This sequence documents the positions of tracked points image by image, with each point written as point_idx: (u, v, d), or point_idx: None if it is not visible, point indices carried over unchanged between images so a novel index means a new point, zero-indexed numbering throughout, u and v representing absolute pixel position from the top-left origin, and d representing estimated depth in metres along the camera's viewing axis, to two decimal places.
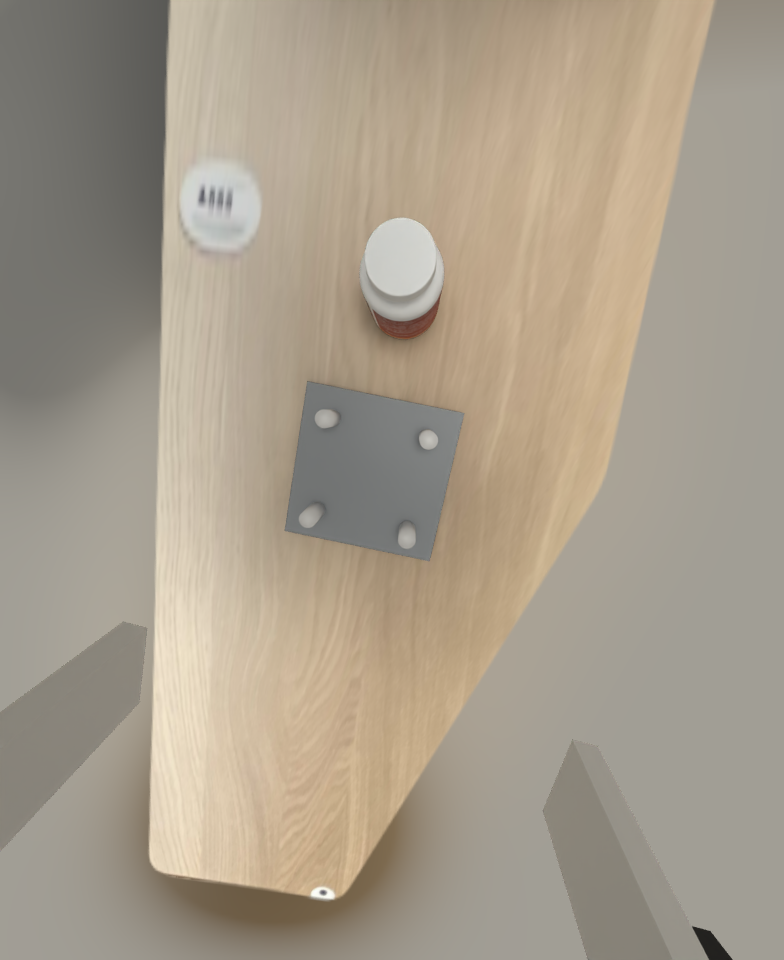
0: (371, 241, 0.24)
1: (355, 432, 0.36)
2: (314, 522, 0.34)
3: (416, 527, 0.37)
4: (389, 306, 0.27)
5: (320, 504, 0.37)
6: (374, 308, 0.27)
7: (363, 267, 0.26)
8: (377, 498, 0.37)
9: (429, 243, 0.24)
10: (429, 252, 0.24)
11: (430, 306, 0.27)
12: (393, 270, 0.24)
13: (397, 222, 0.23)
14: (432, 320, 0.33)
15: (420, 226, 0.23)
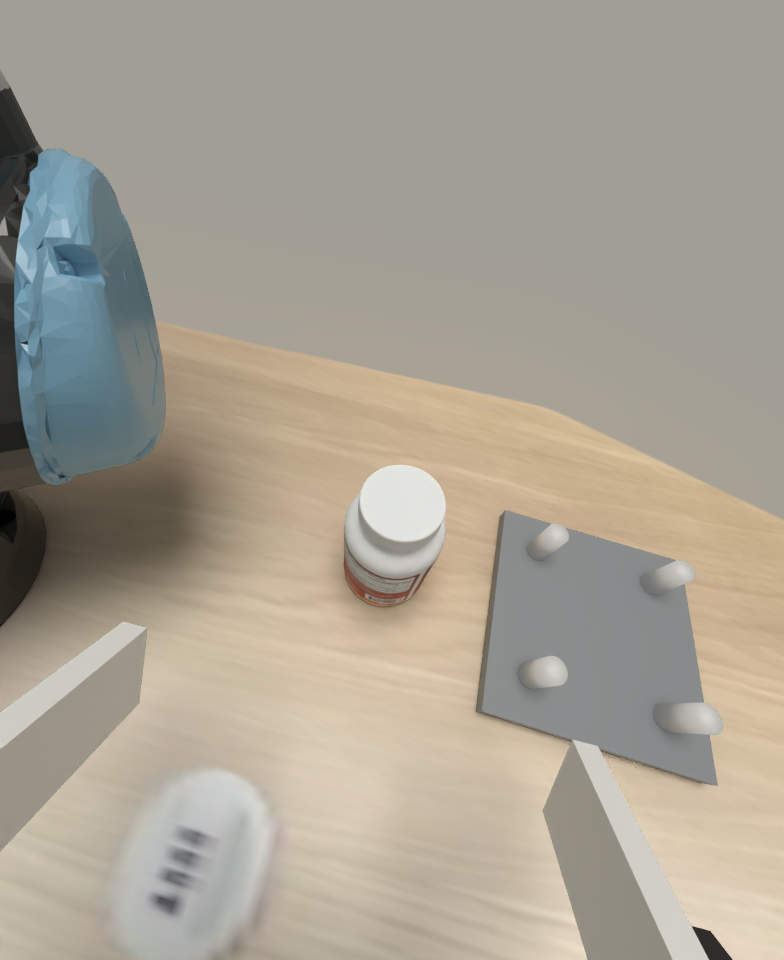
0: (383, 530, 0.19)
1: (544, 642, 0.26)
2: (709, 706, 0.22)
3: (645, 573, 0.30)
4: (437, 536, 0.21)
5: (658, 708, 0.25)
6: (433, 560, 0.21)
7: (389, 563, 0.20)
8: (624, 620, 0.28)
9: (391, 469, 0.21)
10: (400, 470, 0.21)
11: None
12: (417, 509, 0.20)
13: (365, 499, 0.20)
14: None
15: (373, 476, 0.20)
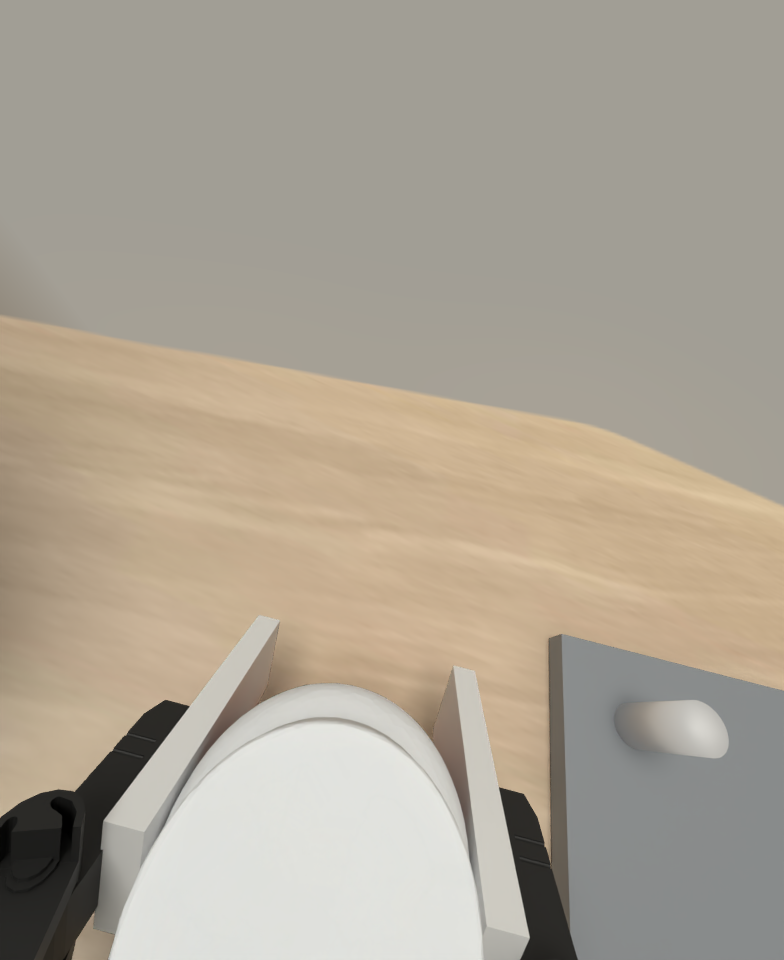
0: None
1: None
2: None
3: None
4: None
5: None
6: None
7: None
8: None
9: (271, 757, 0.06)
10: (306, 757, 0.06)
11: (424, 732, 0.09)
12: None
13: None
14: None
15: (190, 808, 0.05)
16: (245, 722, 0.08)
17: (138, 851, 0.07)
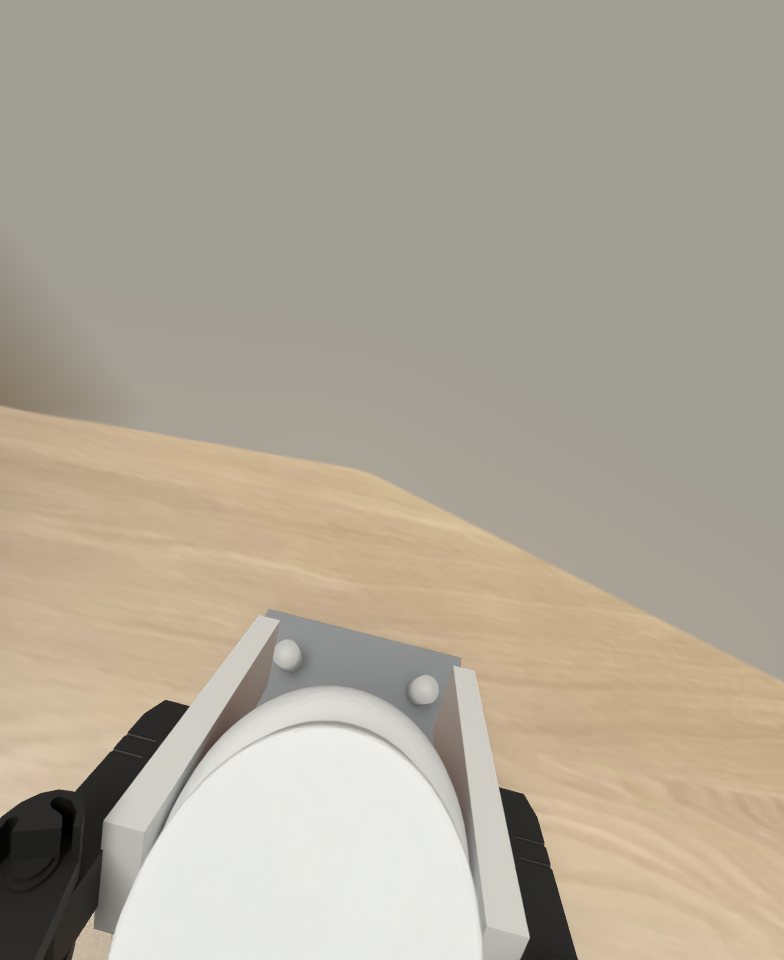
0: None
1: None
2: None
3: (415, 677, 0.27)
4: None
5: None
6: None
7: None
8: None
9: (269, 762, 0.06)
10: (305, 761, 0.06)
11: (423, 735, 0.09)
12: None
13: None
14: None
15: (188, 814, 0.05)
16: (244, 725, 0.08)
17: (138, 851, 0.07)
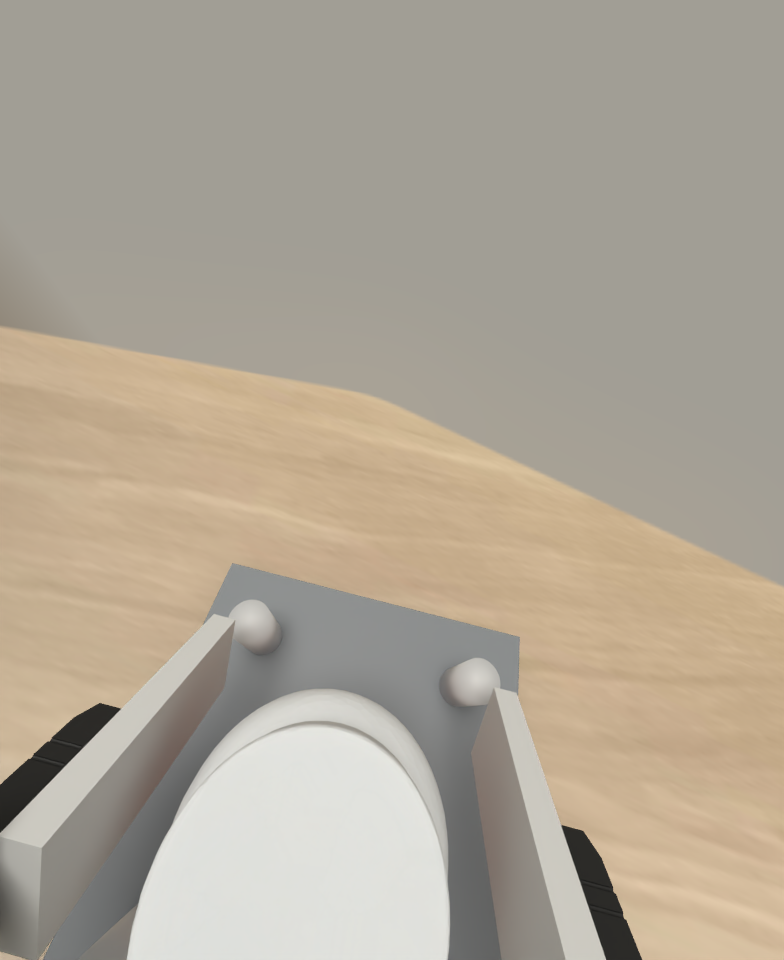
0: None
1: None
2: None
3: (452, 664, 0.18)
4: None
5: None
6: None
7: None
8: None
9: (268, 757, 0.06)
10: (299, 756, 0.06)
11: (409, 733, 0.09)
12: (345, 954, 0.05)
13: (151, 937, 0.05)
14: None
15: (199, 801, 0.06)
16: (246, 725, 0.09)
17: (36, 868, 0.06)
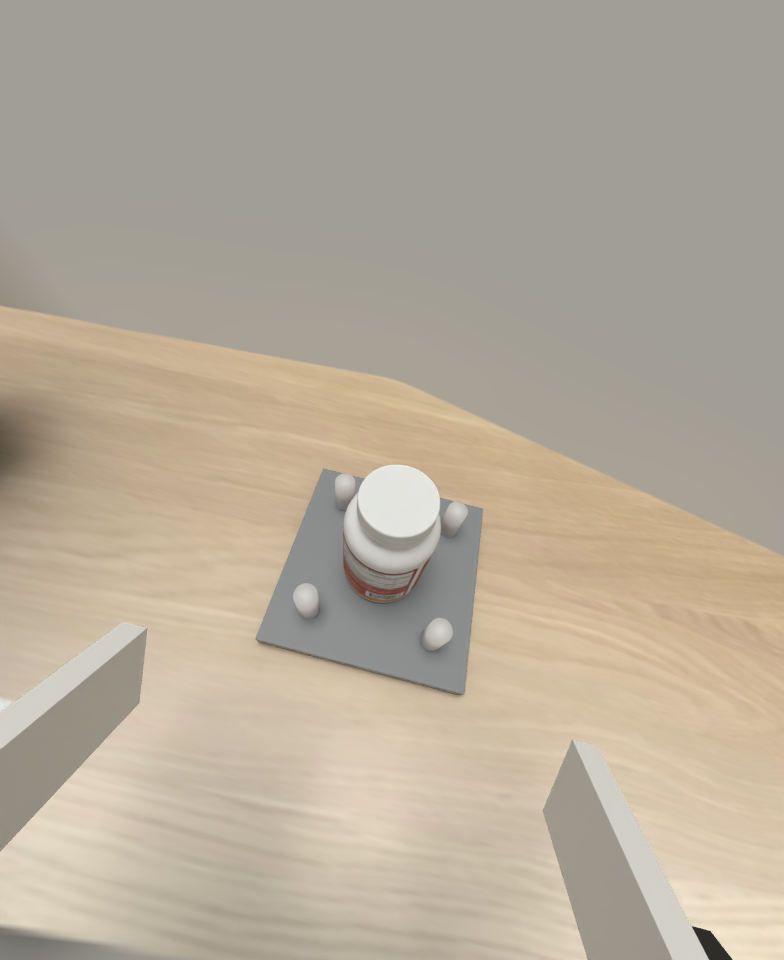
0: (381, 527, 0.20)
1: (331, 580, 0.29)
2: (444, 620, 0.25)
3: None
4: (433, 532, 0.22)
5: (422, 631, 0.27)
6: (430, 554, 0.22)
7: (388, 559, 0.21)
8: None
9: (386, 469, 0.22)
10: (395, 470, 0.22)
11: None
12: (412, 506, 0.21)
13: (363, 499, 0.20)
14: None
15: (369, 476, 0.21)
16: None
17: None
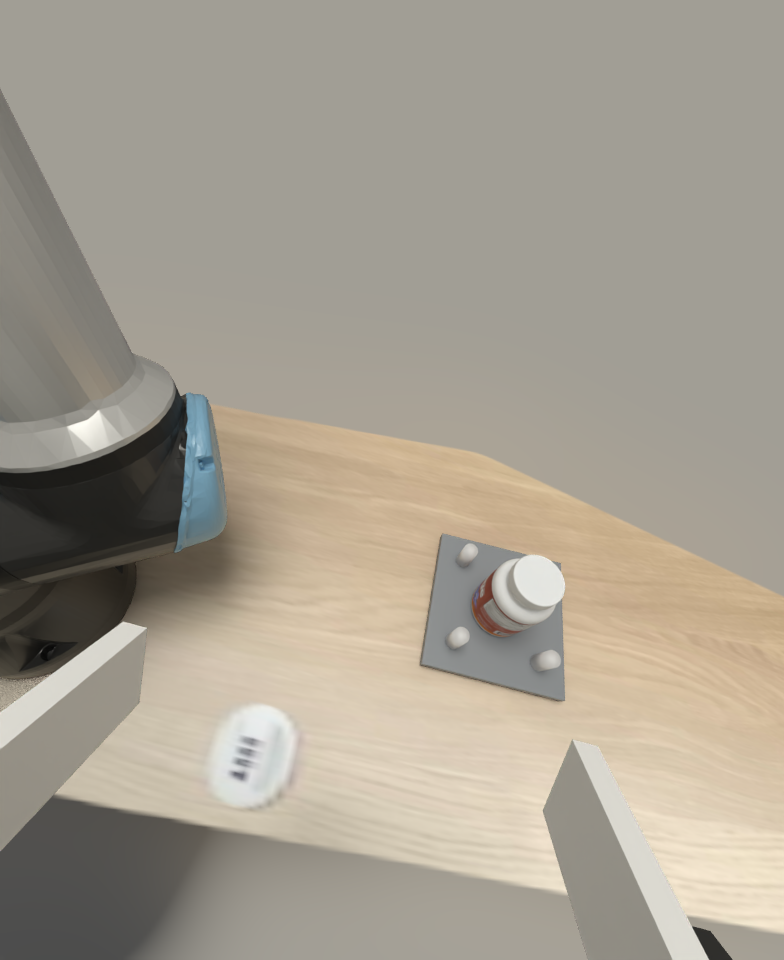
0: (533, 600, 0.32)
1: (463, 620, 0.41)
2: (554, 651, 0.37)
3: None
4: None
5: (532, 657, 0.40)
6: (552, 611, 0.35)
7: (530, 617, 0.34)
8: None
9: (527, 559, 0.34)
10: (533, 559, 0.34)
11: None
12: (548, 584, 0.33)
13: (518, 580, 0.33)
14: None
15: (518, 564, 0.33)
16: (505, 564, 0.36)
17: None
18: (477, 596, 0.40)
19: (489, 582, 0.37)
